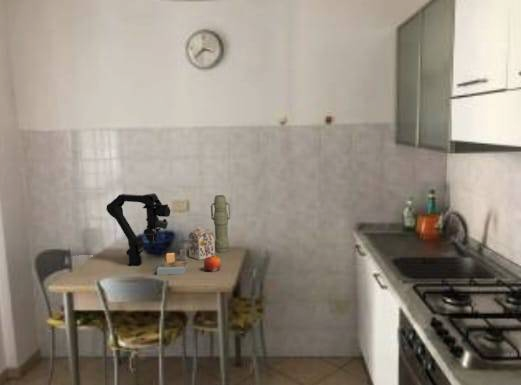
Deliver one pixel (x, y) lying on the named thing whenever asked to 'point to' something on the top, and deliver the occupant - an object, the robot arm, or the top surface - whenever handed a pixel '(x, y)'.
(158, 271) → the pale grey flat slab
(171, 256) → the orange cube
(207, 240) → the decorative jar
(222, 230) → the green vase
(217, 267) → the tomato
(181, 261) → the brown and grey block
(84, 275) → the top surface
